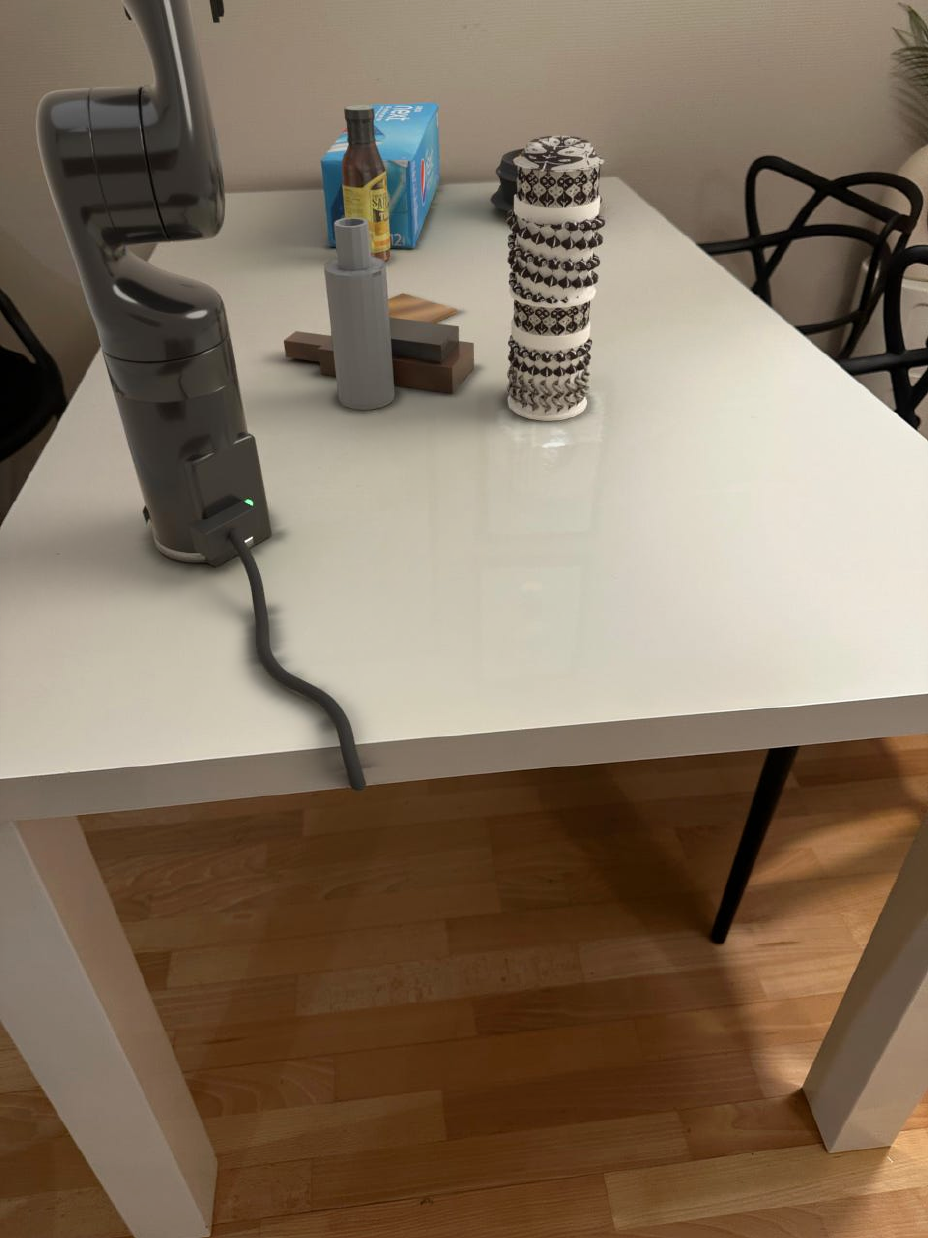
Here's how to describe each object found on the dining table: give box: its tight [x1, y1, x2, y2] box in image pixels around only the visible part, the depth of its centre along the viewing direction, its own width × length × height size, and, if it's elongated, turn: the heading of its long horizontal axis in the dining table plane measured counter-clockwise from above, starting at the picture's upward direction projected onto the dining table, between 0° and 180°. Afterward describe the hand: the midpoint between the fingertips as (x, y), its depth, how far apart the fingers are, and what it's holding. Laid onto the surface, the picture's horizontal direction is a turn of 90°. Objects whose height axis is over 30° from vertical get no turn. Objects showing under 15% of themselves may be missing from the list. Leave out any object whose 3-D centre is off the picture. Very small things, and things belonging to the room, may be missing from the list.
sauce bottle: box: [342, 104, 391, 262], centre depth 126 cm, size 6×6×20 cm
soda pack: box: [320, 102, 441, 249], centre depth 147 cm, size 40×14×13 cm, turn 175°
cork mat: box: [388, 292, 457, 323], centre depth 115 cm, size 10×10×1 cm
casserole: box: [490, 147, 603, 213], centre depth 148 cm, size 25×19×8 cm
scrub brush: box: [283, 317, 475, 394], centre depth 101 cm, size 22×7×5 cm, turn 70°
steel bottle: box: [323, 217, 395, 411], centre depth 91 cm, size 6×6×18 cm
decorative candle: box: [505, 135, 606, 422], centre depth 87 cm, size 9×9×25 cm
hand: (177, 20), depth 100 cm, fingers open, 8 cm apart
